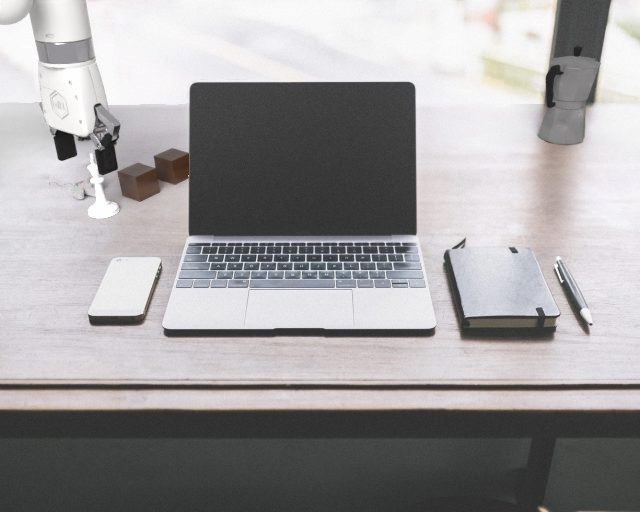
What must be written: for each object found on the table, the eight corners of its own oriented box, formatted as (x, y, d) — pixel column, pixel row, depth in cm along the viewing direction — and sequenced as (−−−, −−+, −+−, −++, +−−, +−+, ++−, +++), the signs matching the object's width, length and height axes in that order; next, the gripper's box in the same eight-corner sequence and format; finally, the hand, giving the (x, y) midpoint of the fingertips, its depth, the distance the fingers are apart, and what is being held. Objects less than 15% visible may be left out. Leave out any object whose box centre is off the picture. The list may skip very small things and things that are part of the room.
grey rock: (96, 202, 104) (92, 188, 102) (32, 199, 105) (28, 185, 104) (110, 187, 108) (107, 174, 107) (49, 185, 110) (46, 171, 109)
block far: (157, 179, 111) (153, 155, 109) (175, 170, 115) (171, 147, 112) (174, 184, 109) (171, 161, 107) (192, 176, 112) (189, 152, 110)
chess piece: (120, 203, 103) (108, 146, 98) (118, 216, 99) (106, 158, 94) (89, 206, 102) (76, 149, 97) (86, 220, 98) (72, 161, 93)
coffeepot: (558, 124, 133) (575, 37, 124) (599, 135, 127) (620, 44, 117) (515, 141, 125) (529, 49, 115) (556, 154, 118) (575, 58, 109)
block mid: (122, 195, 106) (117, 171, 103) (142, 186, 109) (137, 162, 107) (140, 201, 104) (135, 177, 101) (160, 192, 107) (156, 167, 104)
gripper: (6, 48, 89) (32, 160, 97) (83, 65, 80) (104, 186, 89) (51, 39, 94) (73, 146, 103) (128, 54, 86) (144, 170, 94)
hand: (87, 165), depth 96 cm, fingers open, 9 cm apart
